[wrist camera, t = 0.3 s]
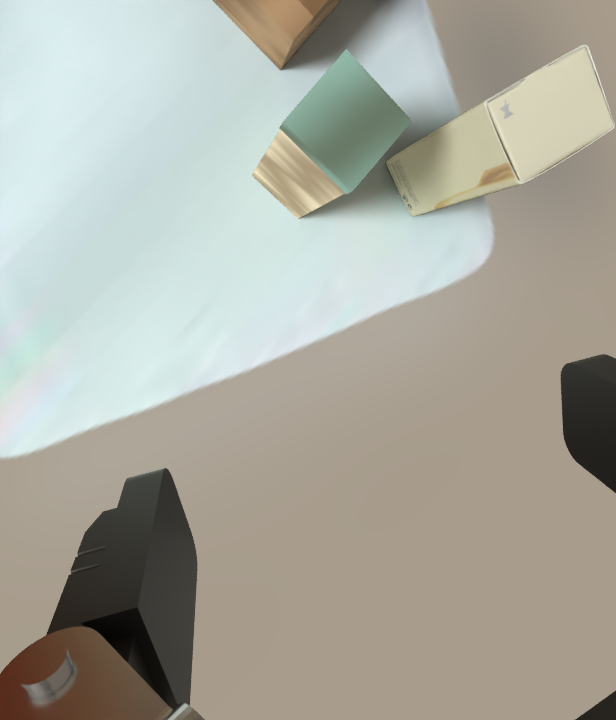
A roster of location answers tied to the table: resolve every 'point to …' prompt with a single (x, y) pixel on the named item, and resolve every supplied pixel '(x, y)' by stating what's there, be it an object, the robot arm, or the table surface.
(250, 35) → the socket block
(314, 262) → the table surface
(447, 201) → the skincare box
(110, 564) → the robot arm
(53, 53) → the table surface
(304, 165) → the peg
